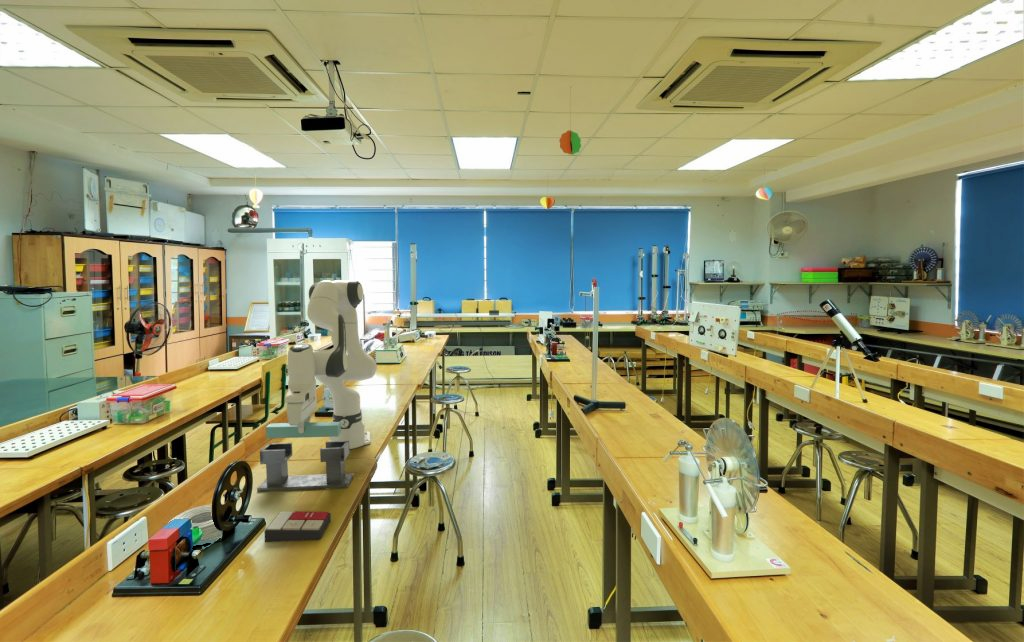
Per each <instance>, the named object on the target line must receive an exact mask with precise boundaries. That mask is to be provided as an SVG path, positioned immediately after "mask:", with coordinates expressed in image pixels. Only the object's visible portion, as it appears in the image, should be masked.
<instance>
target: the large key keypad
mask: <svg viewBox="0 0 1024 642" xmlns="http://www.w3.org/2000/svg"><path fill="white" fill-rule="evenodd" d="M331 516H332V515H331V512H329V511H310V510H309V511H306V510H305V511H301V510H297V511H280V512H279V513H277V514H276V516H275V518H273V520H271V522H270V524H269V525H268V526H267V527H266V528H265V530H264V542H265V543H278V542H279V543H280V542H287V541H288V542H290V541H291V542H294V541H295V542H297V541H298V542H301V541H320V540H321V539H322V537H323V536H324V533H326V530H327V528H328V527H329V525H330V523H331V521H332V520H331V518H332V517H331ZM328 524H329V525H328ZM327 526H328V527H327Z"/></svg>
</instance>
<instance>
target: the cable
mask: <svg viewBox="0 0 1024 642" xmlns="http://www.w3.org/2000/svg"><path fill="white" fill-rule="evenodd" d="M211 505H212V504H206V505H201V506H195V507H193V508H190V509H188V510H185V511H183V512H181V513H178V515H176V516H174V517H173V518H172V519H170V520H169V521H168V523H169V522H170V521H172V520H174V519H183V518H189V519H191V520H192V526H193V527H194V526H199V529H201V531H202V533H203V535H202V537H201V540H200V541H206V540H212V539H216V538H219V537H220V535H221V533H220V531H219V530H217V529H216V527H215V525H214V522H213V520H212V516H211Z"/></svg>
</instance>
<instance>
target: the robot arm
mask: <svg viewBox="0 0 1024 642" xmlns="http://www.w3.org/2000/svg"><path fill="white" fill-rule="evenodd" d="M308 299H309V301H308V304H307V317H308V319H309V321H310V323H312V324H314V325H315V326H316V327H319V328H321V329H324V330H327V331H329V332H330V335H331V339H330V340H331V343H332V345H333V347H332V348H331V349H313V345H311V344H310V343H306V342H305V343H304V342H303V343H302V342H301V343H297V344H294V345H291V346H290V347H289V348H288V352H287V363H286V364H287V365H286V367H287V375H288V378H289V379H288V382H287V386H288V388H287V392H286V394H285V396H284V403H286V416H287V423H289V425H290V426H297V427H298V432H299V433H304V431H305V427H304V423H309V422H311V416H312V413H314V412H315V411H316V410H317V407H318V402H317V401H318V400H317V381H318V382H320V383H322V385H324V386H325V387H326V388H327V389H328V390H329V393H330V395H331V397H332V398H331V399H332V405H333V413H332V422H341V433H340V435H339V436H338V437H329V440H328V441H349V450H352V449H357V448H360V447H362V446H366V445H369V444H371V432H370V431H366V425H365V424H366V423H365V422H364V420H363V415H362V414H363V413H362V409H361V396H360V393H359V392H358V391H357V390H354V389H353V388H351V387H348V386H346V384H345V383H346V382H356V381H357V382H358V381H360V382H361V381H365V380H369V379H373V378H374V377H375V376H376V375H375V374H376V373H377V369H378V368H377V367H378V365H377V361H376V360H375V359H374V357H373V356H371V355H369V353H367V352H366V351H365V350H364V348H363V347H362V345H361V342H360V338H359V326H358V313H357V309H356V308H357V307H358V305H360V304H361V302H363V299H364V288H363V286H362V284H361V282H359V281H358V280H354V279H350V280H346V279H345V280H344V279H343V280H342V279H337V280H335V279H334V280H332V281H331V280H327V279H326V280H325V279H324V280H321V281H319V282H315V283H313V284H312V285H311V286H310V287H309V289H308ZM316 380H317V381H316Z"/></svg>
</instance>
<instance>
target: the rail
mask: <svg viewBox="0 0 1024 642" xmlns="http://www.w3.org/2000/svg"><path fill="white" fill-rule="evenodd" d="M304 427H305V431H304V433H299V432H298V427H297V426H290V425H289V423H288V422H279V423H278V422H277V423H276V422H275V423H274V422H273V423H269V424H268V425H267V426H265V438H266V439H295V438H296V439H297V438H328V437H329V438H330V437H338V436H339V435H340V433H341V422H333V421H318V422H316V421H315V422H314V421H313V422H311V421H310V422H309V423H304Z"/></svg>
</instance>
